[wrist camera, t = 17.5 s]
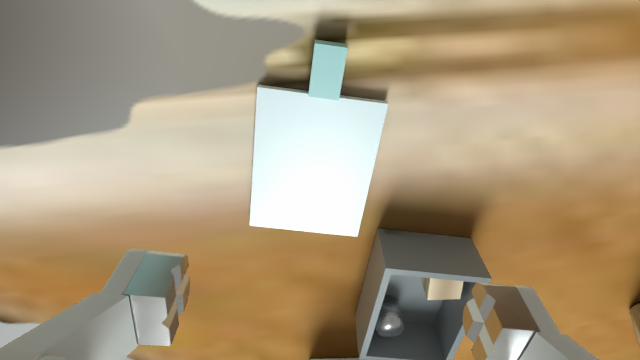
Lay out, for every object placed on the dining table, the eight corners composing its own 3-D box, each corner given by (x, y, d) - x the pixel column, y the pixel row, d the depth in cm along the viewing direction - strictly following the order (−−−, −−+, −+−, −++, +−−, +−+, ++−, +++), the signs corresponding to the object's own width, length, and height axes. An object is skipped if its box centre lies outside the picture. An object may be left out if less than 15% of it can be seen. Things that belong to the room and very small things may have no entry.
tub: (471, 238, 50) (491, 278, 44) (435, 322, 59) (448, 366, 53) (377, 228, 50) (385, 268, 44) (354, 315, 58) (358, 359, 52)
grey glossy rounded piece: (401, 296, 54) (406, 320, 51) (395, 314, 56) (400, 338, 53) (375, 293, 54) (379, 317, 51) (370, 311, 56) (373, 336, 53)
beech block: (454, 252, 50) (464, 275, 47) (450, 275, 52) (460, 299, 49) (422, 253, 50) (430, 276, 47) (420, 276, 52) (427, 300, 49)
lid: (397, 49, 39) (401, 55, 37) (356, 228, 50) (357, 240, 48) (262, 30, 38) (259, 35, 36) (251, 217, 49) (248, 229, 47)
